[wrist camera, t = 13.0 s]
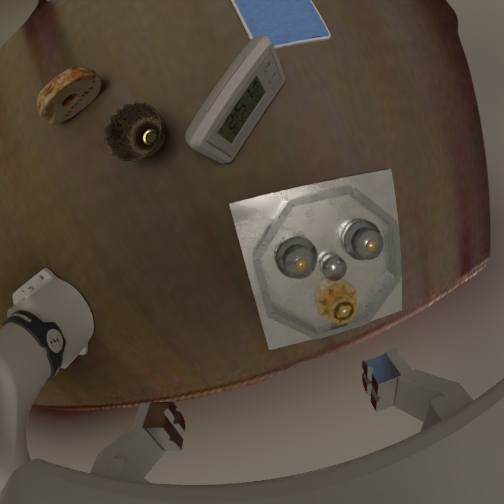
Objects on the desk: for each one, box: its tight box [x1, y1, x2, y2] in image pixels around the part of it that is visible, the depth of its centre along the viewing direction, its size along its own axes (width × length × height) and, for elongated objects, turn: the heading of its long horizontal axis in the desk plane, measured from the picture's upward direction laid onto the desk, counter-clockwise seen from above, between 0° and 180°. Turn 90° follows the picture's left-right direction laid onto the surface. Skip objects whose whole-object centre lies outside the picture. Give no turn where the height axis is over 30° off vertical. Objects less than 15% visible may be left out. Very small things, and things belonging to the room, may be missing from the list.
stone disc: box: [37, 67, 102, 124], centre depth 28 cm, size 10×4×10 cm, turn 118°
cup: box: [105, 102, 166, 162], centre depth 31 cm, size 8×7×8 cm
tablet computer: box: [231, 0, 331, 49], centre depth 29 cm, size 19×13×1 cm, turn 20°
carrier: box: [229, 169, 402, 350], centre depth 39 cm, size 25×25×6 cm
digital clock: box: [185, 35, 285, 164], centre depth 30 cm, size 16×9×11 cm, turn 137°
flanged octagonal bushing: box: [316, 279, 358, 325], centre depth 41 cm, size 6×6×4 cm
